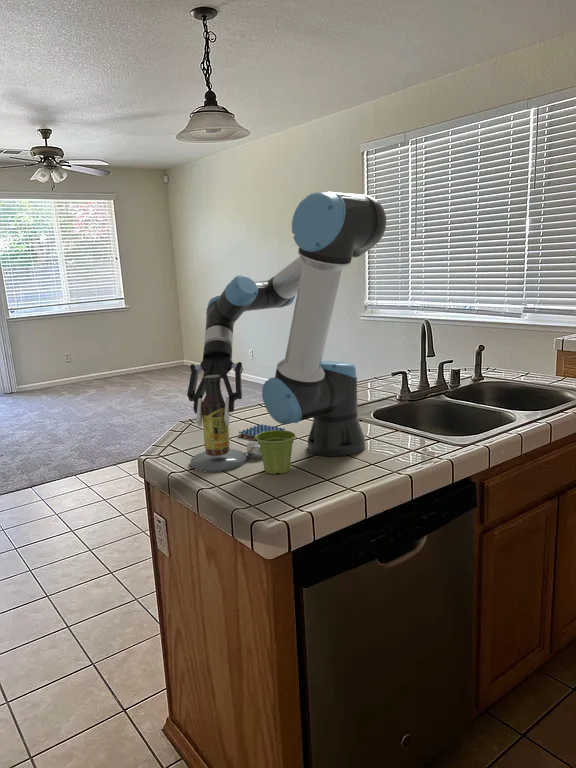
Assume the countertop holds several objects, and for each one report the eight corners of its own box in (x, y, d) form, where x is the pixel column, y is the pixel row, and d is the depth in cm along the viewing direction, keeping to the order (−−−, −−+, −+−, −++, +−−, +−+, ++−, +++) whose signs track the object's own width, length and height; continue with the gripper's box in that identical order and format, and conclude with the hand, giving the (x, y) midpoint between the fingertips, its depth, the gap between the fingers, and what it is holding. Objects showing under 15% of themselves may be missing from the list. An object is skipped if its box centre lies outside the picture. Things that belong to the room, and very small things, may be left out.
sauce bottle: (218, 458, 138) (210, 379, 134) (200, 455, 142) (192, 377, 138) (236, 450, 143) (229, 374, 139) (218, 447, 147) (211, 372, 143)
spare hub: (274, 453, 148) (273, 442, 148) (262, 460, 143) (262, 449, 142) (254, 451, 151) (253, 440, 150) (242, 458, 146) (241, 447, 145)
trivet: (256, 456, 146) (256, 451, 146) (226, 475, 134) (226, 470, 134) (212, 450, 153) (211, 446, 152) (179, 468, 140) (179, 463, 140)
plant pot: (275, 460, 142) (273, 427, 140) (304, 467, 136) (303, 433, 134) (249, 472, 135) (247, 437, 133) (280, 480, 129) (277, 444, 127)
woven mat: (264, 444, 157) (263, 437, 157) (237, 438, 164) (236, 431, 164) (288, 434, 165) (287, 427, 165) (261, 429, 172) (260, 422, 171)
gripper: (255, 353, 153) (253, 428, 140) (185, 357, 154) (177, 432, 141) (252, 336, 146) (249, 413, 134) (179, 340, 147) (170, 417, 135)
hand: (212, 423), depth 137 cm, fingers closed on sauce bottle, 6 cm apart
